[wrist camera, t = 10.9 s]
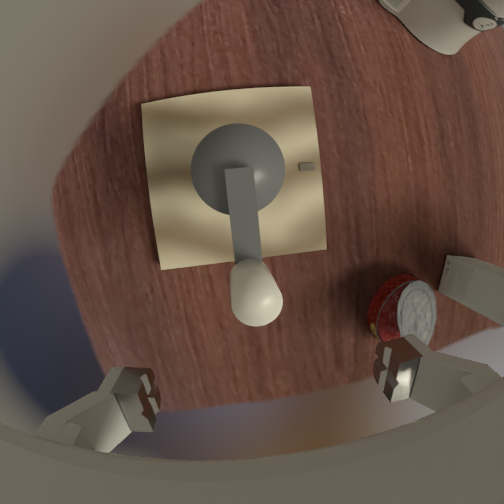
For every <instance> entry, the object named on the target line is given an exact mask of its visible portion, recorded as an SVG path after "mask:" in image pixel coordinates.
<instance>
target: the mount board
mask: <svg viewBox="0 0 504 504" xmlns="http://www.w3.org/2000/svg"><path fill="white" fill-rule="evenodd" d="M141 108H142V125H143V138H144V150H145V161H146V170H147V179H148V188H149V196H150V203H151V211H152V217H153V224H154V230H155V237H156V243H157V249H158V254H159V260H160V265H161V270H165V269H173V268H181V267H189V266H198V265H206V264H214V263H222V262H230V261H235V259H234V251H233V242H232V233H231V225H230V216H229V215H227V214H223V213H220V212H218V211H216V210H214V209H212V208H211V207H209V206H208V205H207V204H206V203H205V202H204V201H203V200H202V199H201V198H200V197H199V195H198V194H197V192H196V190H195V188H194V185H193V182H192V178H191V161H192V157H193V154H194V152H195V149H196V148H197V146H198V144H199V143H200V142H201V140H202V139H203V138H204V137H205V136H206V135H207V134H209V133H210V132H211V131H213V130H214V129H216V128H218V127H221V126H224V125H227V124H233V123H243V124H249V125H253V126H255V127H258V128H260V129H262V130H264V131H265V132H266V133H268V134H269V135H270V136H271V137H272V138H273V139H274V140H275V141H276V143H277V144H278V146H279V147H280V149H281V152H282V154H283V157H284V162H285V177H284V181H283V184H282V187H281V189H280V191H279V193H278V195H277V196H276V197H275V199H274V200H273V201H272V202H271V203H270V204H269V205H267V206H266V207H265V208H263V209H261V210H260V211H258V219H259V230H260V240H261V251H262V257H270V256H277V255H285V254H293V253H301V252H308V251H316V250H324V249H327V246H326V227H325V212H324V199H323V186H322V175H321V165H320V156H319V147H318V138H317V130H316V122H315V115H314V108H313V101H312V94H311V88H310V87H264V88H247V89H235V90H225V91H216V92H207V93H200V94H193V95H186V96H180V97H174V98H169V99H163V100H158V101H153V102H148V103H144V104H141Z"/></svg>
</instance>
